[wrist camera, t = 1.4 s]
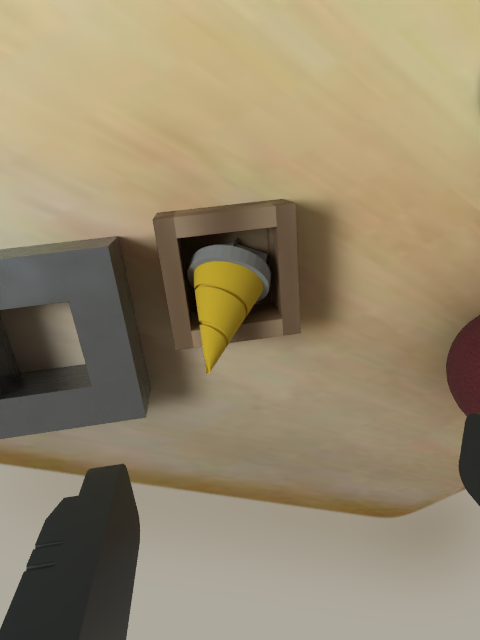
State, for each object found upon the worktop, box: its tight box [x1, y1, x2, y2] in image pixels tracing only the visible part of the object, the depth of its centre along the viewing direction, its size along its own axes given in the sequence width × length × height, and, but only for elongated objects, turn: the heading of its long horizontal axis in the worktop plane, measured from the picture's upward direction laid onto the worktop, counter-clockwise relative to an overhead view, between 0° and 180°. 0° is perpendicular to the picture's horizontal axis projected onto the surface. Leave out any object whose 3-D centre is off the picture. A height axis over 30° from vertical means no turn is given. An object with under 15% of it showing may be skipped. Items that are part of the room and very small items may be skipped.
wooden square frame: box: [153, 199, 301, 350], centre depth 26 cm, size 8×8×4 cm
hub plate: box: [0, 236, 151, 439], centre depth 26 cm, size 12×12×4 cm
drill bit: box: [187, 238, 271, 373], centre depth 25 cm, size 5×5×10 cm
